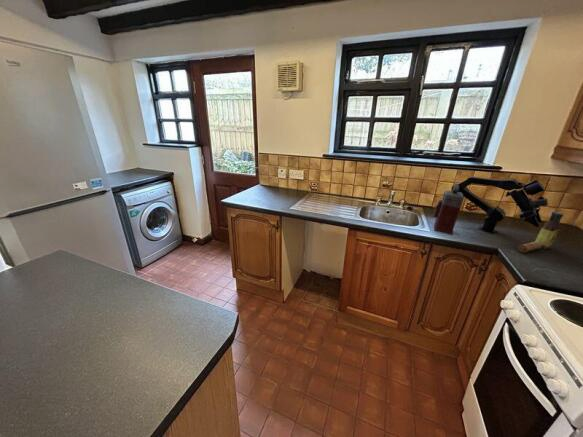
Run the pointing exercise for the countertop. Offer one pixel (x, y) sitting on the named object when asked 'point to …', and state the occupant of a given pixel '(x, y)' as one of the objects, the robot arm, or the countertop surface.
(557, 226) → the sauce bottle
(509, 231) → the countertop surface
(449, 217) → the red bottle
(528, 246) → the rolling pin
